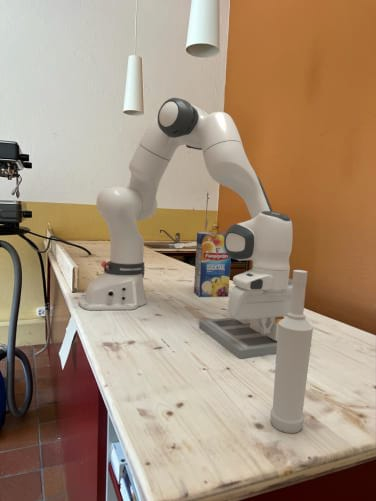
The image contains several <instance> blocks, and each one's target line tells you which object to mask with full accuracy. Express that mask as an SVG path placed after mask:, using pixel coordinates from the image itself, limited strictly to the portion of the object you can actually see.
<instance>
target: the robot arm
mask: <svg viewBox="0 0 376 501" xmlns="http://www.w3.org/2000/svg"><path fill="white" fill-rule="evenodd" d="M184 145H185V146H186V148H188V149H193V150H197V151H198V150H199V151H202V156H203V160H204V164H205V167H206V170H207V173H208V174H209V176H210V177H211V179H212V180H213V181H215V182H216V183H218V184H220V185H221V186H223V187H226V188H228V189H230V190H231V191H233V192H235V193H236V194H238V195H239V196H240V198H241V199H242V200H243V201H244V203H245V205H246V208H247V211H248V213H249V216H250V218H251V219H248V220H246V221H245V220H244V221H243V222H239V223H236V224H235V223H234V224H232V225H230V226H229V227H228V229H227V230H226V232H225V233H224V234H225V236H224V247H225V250H226V252H227V254H228V255H229V256H230V257H231V259H233V260H237V261H251V262H252V265H251V266H252V267H251V269H249V270H246V271H244V272H242V273H239V274H236V275H234V276H233V278H232V283H233V285H234V286H233V287H232V288H231V290H230V292H229V296H228V297H229V298H228V305H227V312H228V314H229V316H230V318H234V319H236V320H244V319H257V321H258V323H259V325H260V333H261V334H262V335H267V334H270V328H271V327H272V325H273V324H274V322H275V317H286V316H287V314H288V313H289V312H290V307H291V296H292V286H293V283H292V282H293V278H290V270H291V266H290V256H291V253H292V250H293V238H294V236H293V234H294V233H293V231H294V230H293V223H292V219H291V218H290V217H289V216H288V215H286V214H284V213H280V212H276V211H273V209H272V206H271V204H270V202H269V199H268V195H267V194H266V191H265V189H264V186H263V184H262V181H261V179H260V177H259V176H258V174H257V173H256V172H255V170H254V168H253V167H252V165H251V163H250V160H249V158H248V156H247V155H246V151H245V149H244V146H243V142H242V139H241V135H240V133H239V131H238V127H237V125H236V123H235V121H234V119H233V117H231V115H230V114H228V113H226V112H224V111H213V112H211V113H210V114H209V113H208V112H206V111H205V110H204V109H202V108H201V107H200V106H196V105H194V104H193V103H190V102H189V101H187V100H186V99H182V98H179V97H172V98H168V99H167V100H166V101H164V102H163V104H161V106H160V108H159V109H158V113H157V117H155V118H154V119H153V120H152V122H151V123H150V124H149V125H148V127H147V128H146V130H145V132H144V134H143V135H142V136H141V139H140V141H139V143H138V145H137V147H136V149H135V151H134V153H133V155H132V156H131V157H132V158H131V160H130V161H129V163H128V164H129V166H128V169H129V171H130V178H129V179H130V180H129V183H128V185H127V187H126V186H117V185H116V186H110V187H107V188H104V189H102V190H101V191H100V192H99V193H98V195H97V198H96V208H97V211H98V214H100V216H101V217H102V218H103V219H104V220H105V221H104V222H105V223H106V226H107V229H108V233H109V240H110V245H109V246H110V253H109V256H110V260H109V261H108V262H106V261H105V260H103V261H102V262H100V265H101V266H100V267H102V268H103V272H102V273H101V274H100V275H98V277H96V278H95V279H93V280H92V281H90V282H89V283H88V286H87V288H86V291H85V295H84V296H81V297H79V299H78V305H79V307H81V308H82V309H84V310H86V311H92V310H93V311H101V310H103V311H106V310H110V311H111V310H114V311H115V310H116V311H118V310H119V311H120V310H122V311H123V310H124V311H125V310H128V311H129V310H135V309H137V308H138V307H142V306H144V305H146V304H147V298H146V295H145V294H146V293H145V287H144V277H145V269H146V268H145V267H146V266H145V262H144V254H145V252H144V250H145V249H144V248H145V245H144V244H145V241H144V240H145V239H144V237H143V236H142V235H141V234H140V232H139V228H138V225H137V224H138V223H137V221H145V220H146V219H149V218H151V217H153V216H154V215H155V214H156V212H157V210H158V200H157V195H158V194H157V193H158V190H159V185H160V183H161V180H162V178H163V176H164V173H165V172H166V170H167V169H168V166H169V164H170V162H171V160H172V158H173V157H174V154H175V151H176V150H177V149H178V148H179V147H180V146H184ZM266 320H267V321H266ZM264 322H266V323H264Z"/></svg>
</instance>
